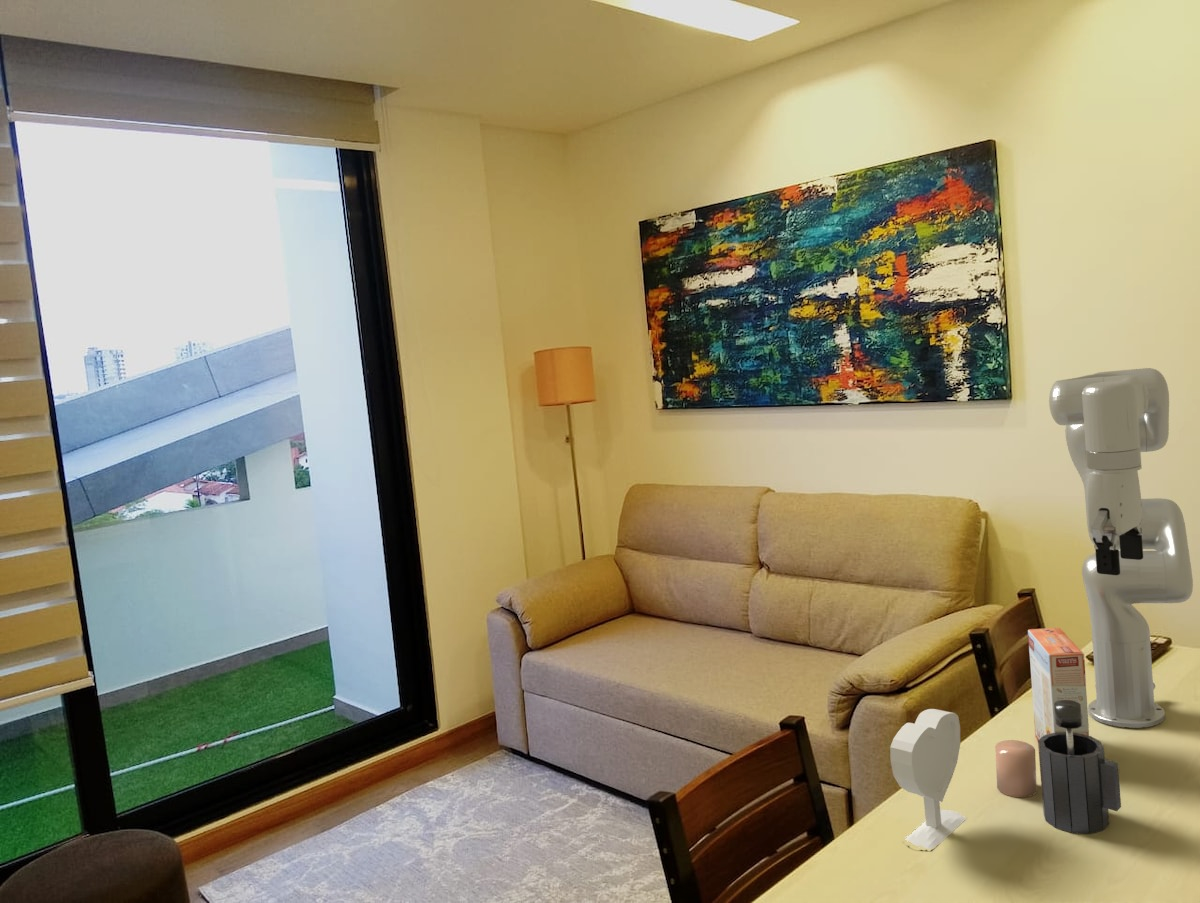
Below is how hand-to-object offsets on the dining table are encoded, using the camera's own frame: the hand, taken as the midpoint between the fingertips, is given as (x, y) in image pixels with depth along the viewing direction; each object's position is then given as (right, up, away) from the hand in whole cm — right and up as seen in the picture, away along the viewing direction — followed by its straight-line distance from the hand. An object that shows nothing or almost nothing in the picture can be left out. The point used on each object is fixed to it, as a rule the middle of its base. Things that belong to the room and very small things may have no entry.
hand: (1120, 566), depth 147 cm
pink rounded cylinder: (-14, -38, +7) cm, 41 cm away
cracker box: (-1, -35, +16) cm, 39 cm away
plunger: (-10, -35, -5) cm, 36 cm away
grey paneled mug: (-9, -38, -4) cm, 40 cm away
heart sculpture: (-30, -41, -2) cm, 51 cm away
